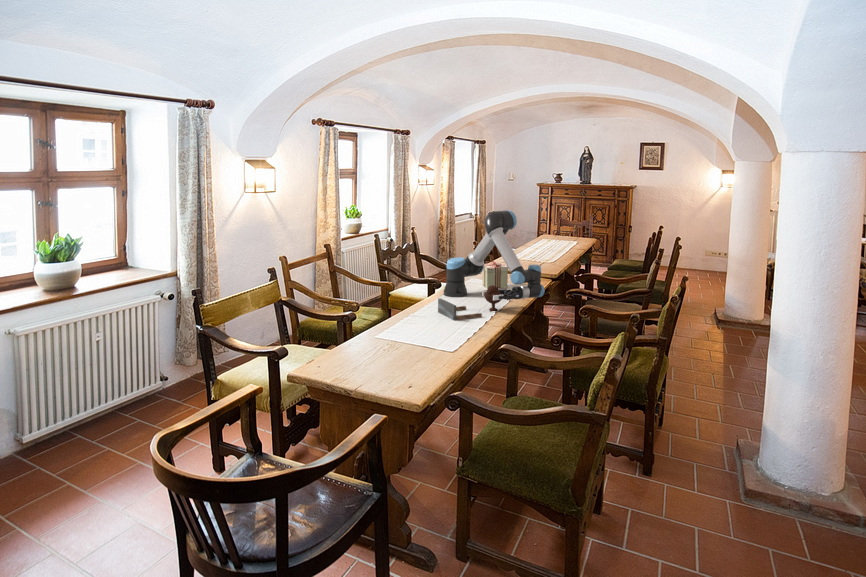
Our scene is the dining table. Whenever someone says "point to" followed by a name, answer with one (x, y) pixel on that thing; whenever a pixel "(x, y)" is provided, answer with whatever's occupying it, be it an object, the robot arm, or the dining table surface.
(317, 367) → the dining table surface
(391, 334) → the dining table surface
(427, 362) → the dining table surface
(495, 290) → the ice cream bowl
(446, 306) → the frame
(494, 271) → the gift box
